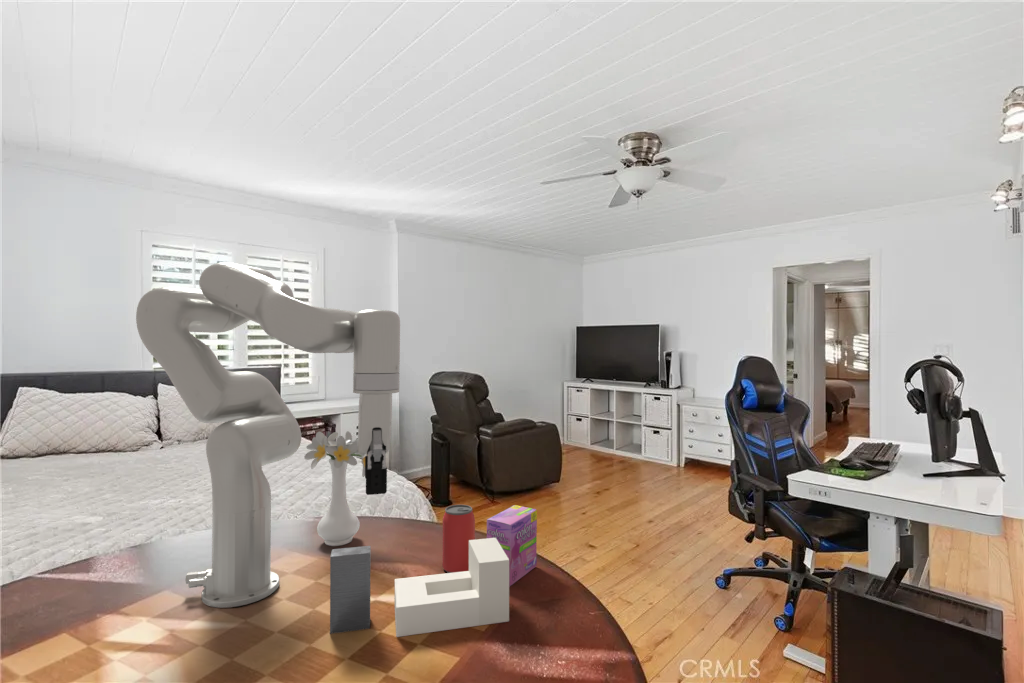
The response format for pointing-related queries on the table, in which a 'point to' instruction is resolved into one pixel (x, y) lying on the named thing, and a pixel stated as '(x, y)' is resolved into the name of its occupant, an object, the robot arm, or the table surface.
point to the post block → (456, 594)
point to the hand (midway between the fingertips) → (375, 485)
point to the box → (516, 538)
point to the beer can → (457, 537)
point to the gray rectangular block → (350, 589)
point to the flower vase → (337, 486)
